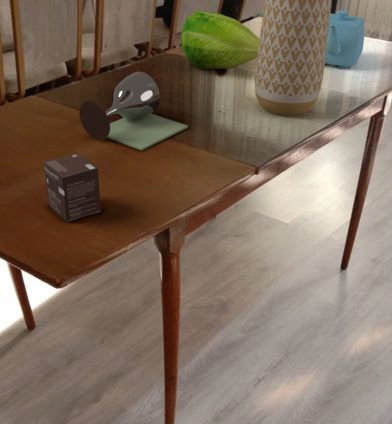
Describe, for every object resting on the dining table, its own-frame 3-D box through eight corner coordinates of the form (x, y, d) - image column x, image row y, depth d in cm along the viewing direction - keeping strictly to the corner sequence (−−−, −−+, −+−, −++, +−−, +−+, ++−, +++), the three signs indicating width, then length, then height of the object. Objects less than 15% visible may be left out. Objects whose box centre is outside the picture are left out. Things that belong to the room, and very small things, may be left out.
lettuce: (250, 85, 141) (255, 28, 133) (169, 71, 147) (170, 15, 139) (269, 68, 151) (275, 13, 143) (193, 55, 156) (195, 2, 148)
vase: (323, 120, 127) (353, -58, 107) (256, 119, 126) (273, -61, 106) (310, 96, 137) (335, -71, 117) (248, 95, 136) (263, -73, 116)
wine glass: (73, 124, 117) (122, 96, 126) (105, 150, 117) (152, 121, 126) (82, 89, 111) (133, 62, 120) (116, 117, 110) (165, 88, 119)
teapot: (299, 70, 150) (307, 18, 143) (316, 50, 163) (323, 1, 156) (351, 78, 147) (361, 25, 140) (363, 57, 160) (373, 7, 153)
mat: (141, 150, 113) (141, 148, 113) (92, 133, 118) (92, 131, 118) (187, 127, 122) (187, 125, 122) (140, 112, 127) (140, 110, 127)
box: (48, 206, 97) (41, 161, 92) (82, 196, 100) (78, 151, 95) (67, 223, 93) (61, 177, 88) (102, 211, 96) (98, 166, 91)
